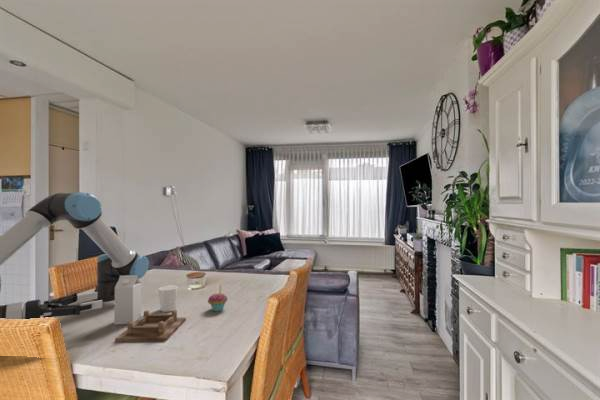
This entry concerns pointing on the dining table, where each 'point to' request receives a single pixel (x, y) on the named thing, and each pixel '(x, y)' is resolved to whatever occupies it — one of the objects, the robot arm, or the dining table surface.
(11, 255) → the robot arm
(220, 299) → the cupcake
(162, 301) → the white cup
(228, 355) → the dining table surface
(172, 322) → the walnut stand
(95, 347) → the dining table surface
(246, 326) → the dining table surface
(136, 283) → the milk carton
